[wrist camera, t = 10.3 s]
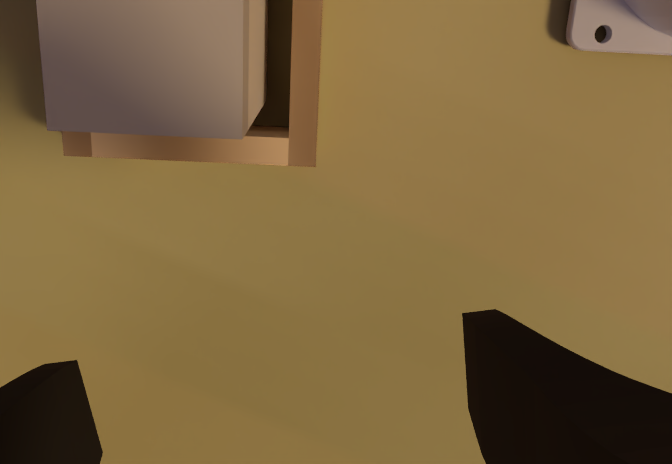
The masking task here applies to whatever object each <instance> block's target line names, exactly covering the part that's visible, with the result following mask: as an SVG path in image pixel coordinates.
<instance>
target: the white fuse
mask: <svg viewBox="0 0 672 464" xmlns="http://www.w3.org/2000/svg"><path fill="white" fill-rule="evenodd" d="M36 6H37V18H38V29H39V41H40V52H41V64H42V75H43V87H44V98H45V110H46V121H47V130H49V131H71V132H92V133H113V134H135V135H156V136H178V137H199V138H220V139H243V138H244V136H245V134H246V133H247V131H248V129H249V128H250V126H251V125H252V123H253V121H254V120H255V118H256V116H257V115H258V113H259V112H260V110H261V108H262V107H263V105H264V103H265V102H266V97H267V44H268V0H36Z"/></svg>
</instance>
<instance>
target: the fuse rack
mask: <svg viewBox="0 0 672 464" xmlns="http://www.w3.org/2000/svg"><path fill="white" fill-rule="evenodd" d="M322 3H323V0H293V10H292V44H291V79H290V113H289V127H275V126H254V125H251V126H250V128H249V129H248V131H247V133H246V134H245V136H244V138H243V139H220V138H199V137H178V136H156V135H135V134H113V133H92V132H71V131H62V139H63V151H64V156H82V157H105V158H127V159H150V160H172V161H195V162H217V163H240V164H263V165H285V166H308V167H316V144H317V120H318V97H319V73H320V50H321V26H322Z"/></svg>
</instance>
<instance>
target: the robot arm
mask: <svg viewBox="0 0 672 464" xmlns="http://www.w3.org/2000/svg"><path fill="white" fill-rule="evenodd" d="M601 25H602V26H604V27H605V29H606V37H605V39H604V40H603V41H601V42H597V41H596V39H595V31H596V29H597V28H598V27H599V26H601ZM566 40H567V42H568V44H569V45H570V46H571V47H572V48H573V49H577V50H582V51H599V52H618V53H637V54H655V55H672V0H571V3H570V10H569V16H568V23H567V29H566ZM462 316H463V332H464V348H465V364H466V380H467V395H468V409H469V413H470V416H471V420H472V423H473V426H474V430H475V433H476V437H477V440H478V443H479V446H480V450H481V453H482V456H483V458H484V460H485V462H486V464H672V393H669V392H666V391H663V390H660V389H657V388H655V387H652V386H649V385H647V384H644V383H641V382H638V381H636V380H633V379H630V378H628V377H625V376H623V375H621V374H618V373H616V372H614V371H611V370H609V369H607V368H605V367H603V366H601V365H598V364H596V363H594V362H592V361H590V360H588V359H586V358H584V357H582V356H580V355H578V354H576V353H574V352H572V351H570V350H568V349H566V348H564V347H562V346H560V345H559V344H557V343H555V342H553V341H551V340H549V339H548V338H546V337H544V336H542V335H541V334H539V333H537V332H535V331H534V330H532V329H530V328H529V327H527V326H525V325H523V324H522V323H520V322H518V321H517V320H515V319H513V318H511V317H510V316H508V315H506V314H504V313H502V312H500V311H498V310H496V309H493V310H485V311H477V312H469V313H462ZM102 453H103V452H102V448H101V444H100V441H99V437H98V434H97V430H96V426H95V423H94V419H93V416H92V412H91V409H90V405H89V401H88V398H87V394H86V391H85V387H84V383H83V380H82V376H81V373H80V369H79V366H78V362H77V360H74V361H66V362H58V363H49V364H44V365H41V366H39V367H37V368H35V369H33V370H31V371H29V372H27V373H25V374H23V375H21V376H19V377H18V378H16V379H14V380H12V381H11V382H9V383H7V384H6V385H4V386H2V387H1V388H0V464H100V461H101V457H102Z"/></svg>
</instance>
